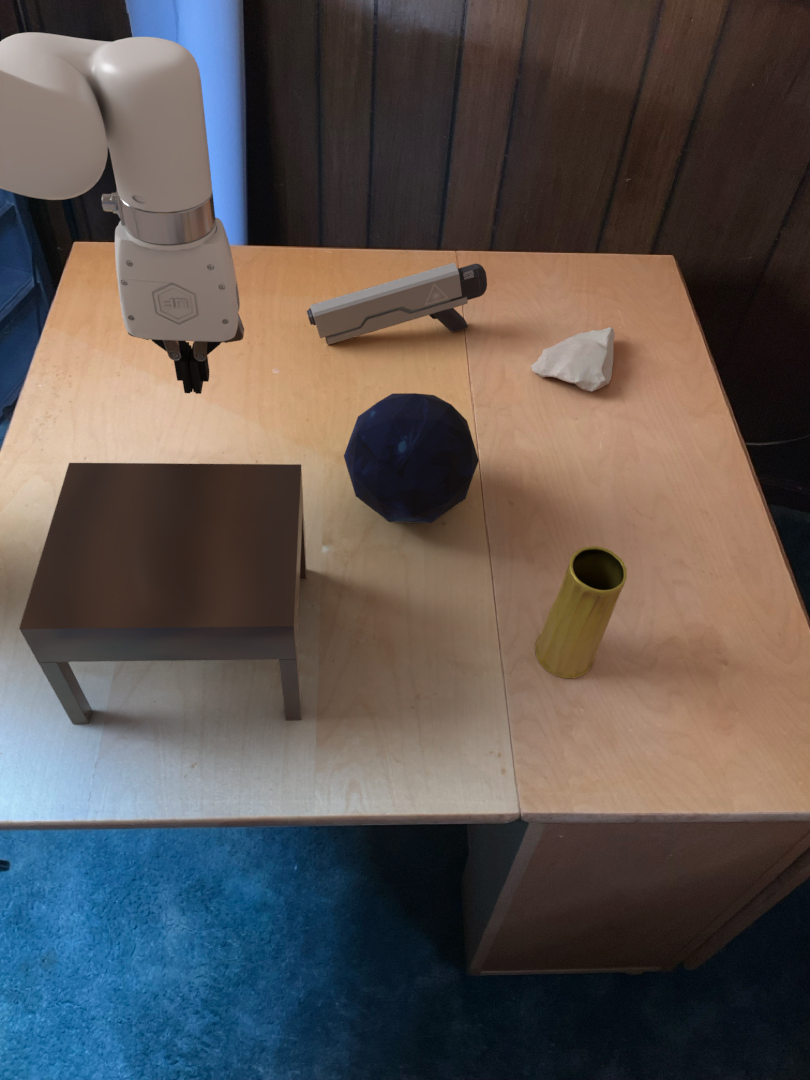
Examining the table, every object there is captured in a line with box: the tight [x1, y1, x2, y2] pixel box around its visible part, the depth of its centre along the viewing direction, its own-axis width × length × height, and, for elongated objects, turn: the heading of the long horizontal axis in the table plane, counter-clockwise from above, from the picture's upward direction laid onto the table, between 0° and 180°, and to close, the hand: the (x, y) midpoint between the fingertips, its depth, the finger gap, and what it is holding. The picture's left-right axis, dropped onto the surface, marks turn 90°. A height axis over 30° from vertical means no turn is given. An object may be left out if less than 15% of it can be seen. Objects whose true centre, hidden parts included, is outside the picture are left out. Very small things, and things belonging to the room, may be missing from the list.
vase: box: [534, 545, 628, 679], centre depth 77 cm, size 6×6×14 cm
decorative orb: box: [343, 392, 480, 524], centre depth 89 cm, size 14×15×15 cm
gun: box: [306, 262, 488, 345], centre depth 112 cm, size 2×25×10 cm, turn 104°
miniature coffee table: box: [18, 462, 308, 725], centre depth 75 cm, size 21×20×16 cm
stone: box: [530, 326, 616, 393], centre depth 112 cm, size 11×4×15 cm
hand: (194, 384), depth 81 cm, fingers closed
